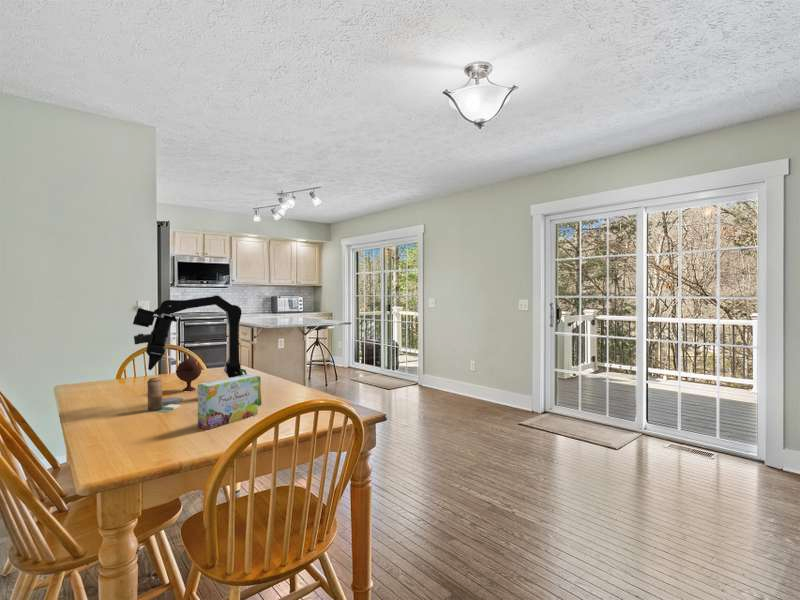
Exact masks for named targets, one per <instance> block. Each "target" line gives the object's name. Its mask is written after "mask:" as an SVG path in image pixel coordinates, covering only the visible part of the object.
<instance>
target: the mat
mask: <svg viewBox="0 0 800 600" xmlns="http://www.w3.org/2000/svg"><path fill="white" fill-rule="evenodd" d="M180 408H181V404H168V405H162V410H159V411H148V409H145V410H144V412H151V413H152V412H153V413H164V414H165V413H169V412H171V411H174V410H177V409H180Z"/></svg>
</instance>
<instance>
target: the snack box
mask: <svg viewBox="0 0 800 600" xmlns="http://www.w3.org/2000/svg"><path fill="white" fill-rule="evenodd" d="M258 376H259V375H257V374H250V373H247V375H245V374H244V375H242V376H237V377H232V378H229V377H227V378H222V379H219V380H212V381H208V382H203V383H198V384H197V428H200V429H203V430H206V431H208V430H211V429H214V428H217V427H221V426H224V425H228V424H233V423H234V422H238V421H242V420H245V419H248V417H249V418H251V416H252V417H255V416H257V414H259V405H258ZM254 415H255V416H254Z"/></svg>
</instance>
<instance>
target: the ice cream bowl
mask: <svg viewBox="0 0 800 600" xmlns="http://www.w3.org/2000/svg"><path fill="white" fill-rule="evenodd" d="M201 373H202V368H201V367H200V365H199V364H197V360H196V359H194V358H192V357H191V358H190V357H188V358H186V359H184V360H183V361H181V362H179V364H178V365H177V368H176V370H175V374H176V376H177V378H178V379H179V380H181V381H182V382H185V383H186V387H184V388H183V389H182V392H183V391H190V392H194V391H196V388H195V387H193V386H192V382H193V381H196V380H197V379H198V378H199V377H200V376H201ZM193 390H194V391H193Z"/></svg>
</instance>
